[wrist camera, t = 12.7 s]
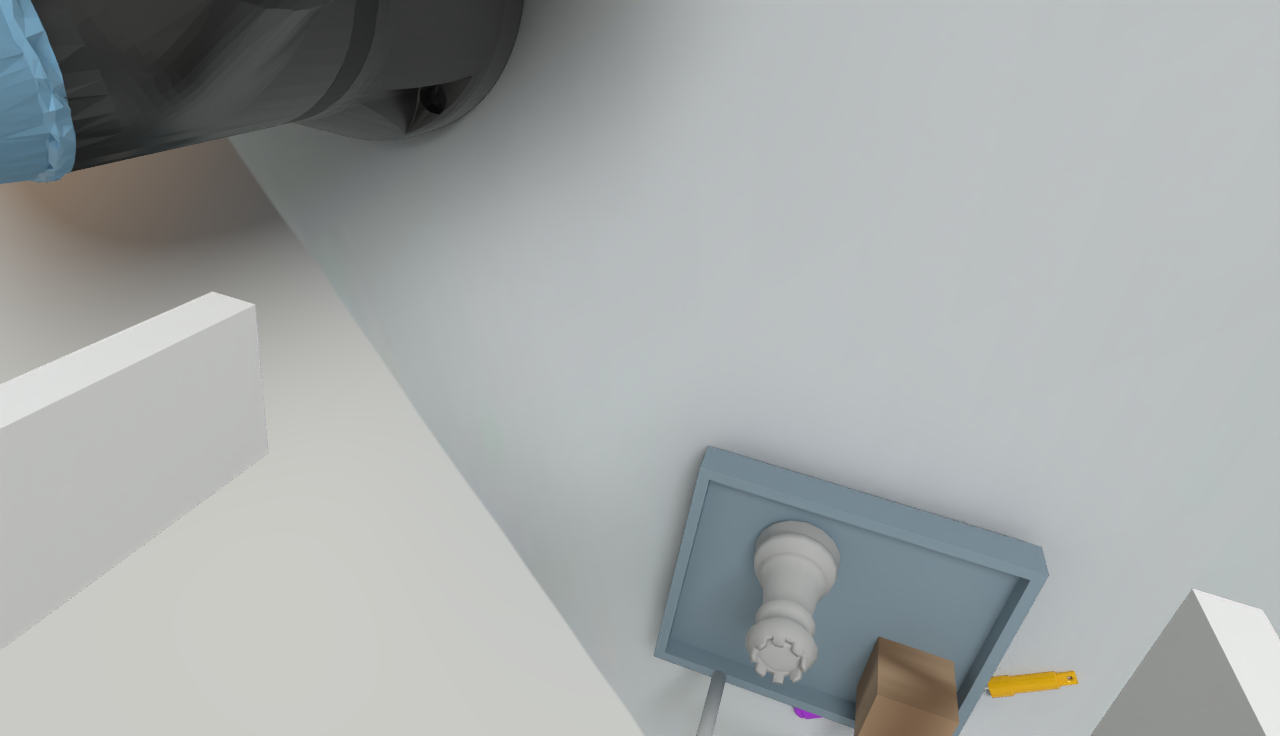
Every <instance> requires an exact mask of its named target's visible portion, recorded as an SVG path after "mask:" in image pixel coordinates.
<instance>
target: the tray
mask: <svg viewBox="0 0 1280 736" xmlns="http://www.w3.org/2000/svg"><path fill="white" fill-rule="evenodd" d="M790 520H793V521H801V522H807V523H809V524H811V525H813V526H815V527H818V528H820V529H821V530H823V531H824V532H825V533H826V534H827V535H828V536H829V537H830V538H831V539H832V540H833V541H834V542H835V544H836V547H837V549H838V551H839V554H840V564H839V570H838V571H837V580H836V581H835V583H834V585H833V586H832V588H831V589H830V591H829V592H828V594H826V595H825V596H823V597H822V599H821V600H820V601H818V602H817V605H816V608H815V611H814V614H813V617H812V618H813V620H814V622H815V634H814V635H813V639H814V641H815V643H816V646H817V648H818V651H817V660H816V661H815V662H814V664H813V665H812V667H811V668H809V669H807V673H806V672H803V674H802V680H800V681H798V682H796V683H793V682H792V681H791V680H790V676H788V677H784V683H783V685H782V684H776V683H772V681H773V674H771V673H769V672H767V671H766V675H765V676H763V677H761V676H760V675H759V674H757V673H756V672H755V671H754V670H755V665H756V663H754V662H750V654H749V652H748V650H747V648H746V634H747V633H748V631H749V629H750V628H751V626H753V625H755V624H756V623H755V618H756V613H757V611H758V609H759V608H760V606H762V603H763V589H762V587H761V585H760V582H759V580H758V578H757V576H756V574H755V571H754V553H755V543H756V541H757V539H758V538H759V536H760V534H761V532H762V531H764V530H765V529H767V528H768V527H770V526H771V525H773V524H775V523H780V522H785V521H790ZM1048 576H1049V573H1048V569H1047V565H1046V562H1045V558H1044V554H1043V550H1042V547H1040V546H1036V545H1033V544H1030V543H1027V542H1023V541H1020V540H1017V539H1013V538H1010V537H1007V536H1004V535H1000V534H997V533H994V532H990V531H987V530H984V529H981V528H977V527H974V526H971V525H967V524H964V523H961V522H958V521H954V520H951V519H948V518H944V517H941V516H938V515H935V514H931V513H928V512H925V511H921V510H918V509H915V508H912V507H908V506H905V505H902V504H898V503H895V502H892V501H889V500H885V499H882V498H879V497H875V496H872V495H869V494H866V493H862V492H859V491H856V490H852V489H849V488H846V487H843V486H839V485H836V484H833V483H829V482H826V481H823V480H820V479H816V478H813V477H810V476H806V475H803V474H800V473H797V472H793V471H790V470H787V469H783V468H780V467H777V466H774V465H770V464H767V463H764V462H760V461H757V460H754V459H750V458H747V457H744V456H741V455H737V454H734V453H731V452H727V451H724V450H721V449H718V448H714V447H711V446H708V449H707V451H706V454H705V456H704V459H703V461H702V463H701V466H700V469H699V473H698V477H697V481H696V485H695V490H694V494H693V498H692V502H691V506H690V510H689V514H688V518H687V522H686V526H685V530H684V534H683V538H682V542H681V546H680V550H679V555H678V559H677V563H676V567H675V571H674V575H673V579H672V583H671V587H670V591H669V595H668V599H667V603H666V607H665V611H664V615H663V620H662V624H661V628H660V632H659V636H658V640H657V644H656V648H655V652H654V656H655V657H658V658H660V659H663V660H666V661H669V662H671V663H674V664H677V665H680V666H683V667H685V668H688V669H691V670H694V671H696V672H699V673H702V674H705V675H708V676H710V677H712V679H711V682H710V686H709V690H708V694H707V697H706V701H705V705H704V709H703V712H702V716H701V720H700V724H699V727H698V731H697V735H696V736H712V734H713V730H714V725H715V721H716V717H717V713H718V709H719V705H720V701H721V697H722V693H723V689H724V685H725V682H727V683H730V684H732V685H735V686H738V687H741V688H744V689H746V690H749V691H752V692H755V693H757V694H760V695H763V696H766V697H769V698H771V699H774V700H777V701H780V702H782V703H785V704H788V705H791V706H794V707H796V708H799V709H802V710H805V711H807V712H810V713H813V714H816V715H819V716H821V717H824V718H827V719H830V720H832V721H835V722H838V723H841V724H843V725H846V726H849V727H852V728H855V714H856V695H857V684H858V682H859V680H860V677H861V675H862V673H863V671H864V668H865V666H866V664H867V662H868V659H869V657H870V655H871V653H872V650H873V648H874V646H875V644H876V641H877V639H878V637H879V636H880V637H883V638H885V639H888V640H891V641H894V642H897V643H900V644H903V645H906V646H909V647H912V648H915V649H918V650H921V651H924V652H927V653H930V654H933V655H936V656H939V657H942V658H945V659H948V660H951V661H954V670H955V681H956V692H957V704H958V715H959V724H958V726H957V728H956V730H955V731H954V733H953V735H952V736H959V734H960V732H961V730H962V728H963V727H964V725H965V723H966V721H967V720H968V718H969V716H970V714H971V713H972V711H973V709H974V707H975V705H976V704H977V702H978V700H979V698H980V697H981V695H982V693H983V691H984V689H985V688H986V686H987V684H988V682H989V681H990V679H991V677H992V675H993V674H994V672H995V670H996V668H997V666H998V665H999V663H1000V661H1001V659H1002V658H1003V656H1004V654H1005V652H1006V651H1007V649H1008V647H1009V645H1010V643H1011V642H1012V640H1013V638H1014V636H1015V635H1016V633H1017V631H1018V629H1019V627H1020V626H1021V624H1022V622H1023V620H1024V619H1025V617H1026V615H1027V613H1028V612H1029V610H1030V608H1031V606H1032V604H1033V603H1034V601H1035V599H1036V597H1037V596H1038V594H1039V592H1040V590H1041V588H1042V587H1043V585H1044V583H1045V581H1046V580H1047V578H1048Z"/></svg>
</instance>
